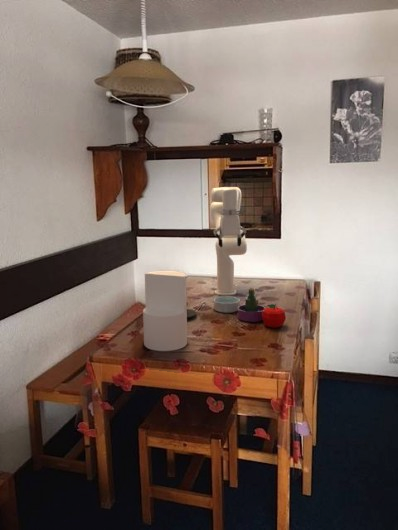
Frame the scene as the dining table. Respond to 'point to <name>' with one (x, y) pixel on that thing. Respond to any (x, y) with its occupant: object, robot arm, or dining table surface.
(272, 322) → the apple
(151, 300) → the cylinder
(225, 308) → the pale bowl
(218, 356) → the dining table surface
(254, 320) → the plum bowl
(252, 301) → the bottle
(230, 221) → the robot arm
